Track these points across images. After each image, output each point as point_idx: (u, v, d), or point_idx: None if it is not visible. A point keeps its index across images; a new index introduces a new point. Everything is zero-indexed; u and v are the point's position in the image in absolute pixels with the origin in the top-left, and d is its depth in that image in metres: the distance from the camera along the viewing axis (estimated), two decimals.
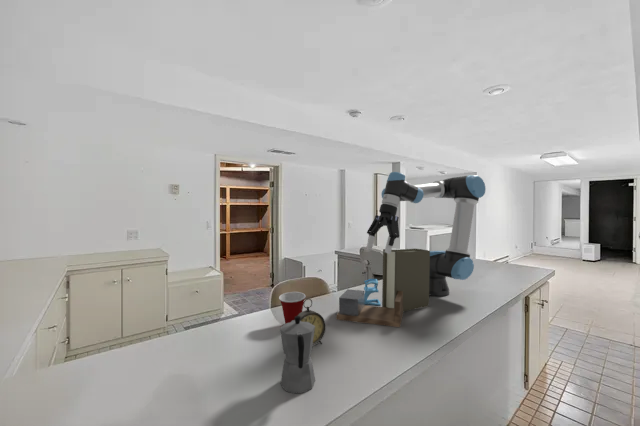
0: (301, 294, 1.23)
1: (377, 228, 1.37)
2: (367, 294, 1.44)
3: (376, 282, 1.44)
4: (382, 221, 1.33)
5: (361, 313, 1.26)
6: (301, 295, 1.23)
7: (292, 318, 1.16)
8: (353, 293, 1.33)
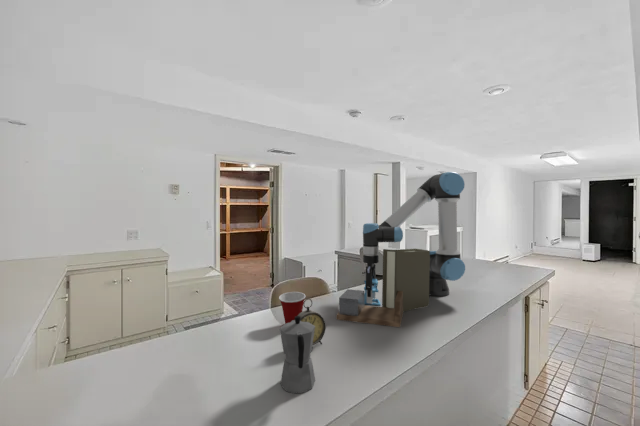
0: (301, 294, 1.23)
1: None
2: None
3: (376, 282, 1.44)
4: None
5: (361, 313, 1.26)
6: (301, 295, 1.22)
7: (292, 318, 1.16)
8: (353, 293, 1.33)
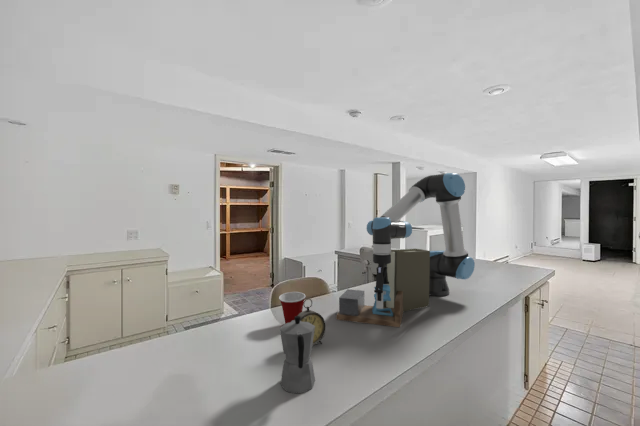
0: (301, 294, 1.23)
1: (383, 277, 1.31)
2: None
3: (388, 289, 1.24)
4: None
5: (361, 313, 1.26)
6: (301, 295, 1.23)
7: (292, 318, 1.16)
8: (353, 293, 1.33)
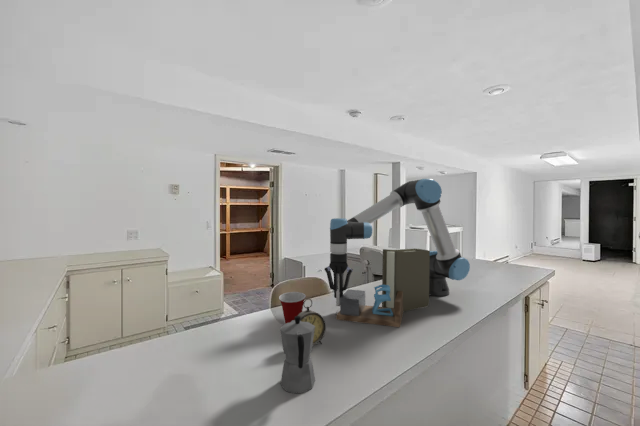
0: (301, 294, 1.23)
1: None
2: (378, 303, 1.24)
3: (388, 289, 1.24)
4: None
5: (361, 313, 1.26)
6: (301, 295, 1.23)
7: (292, 318, 1.16)
8: (354, 293, 1.32)
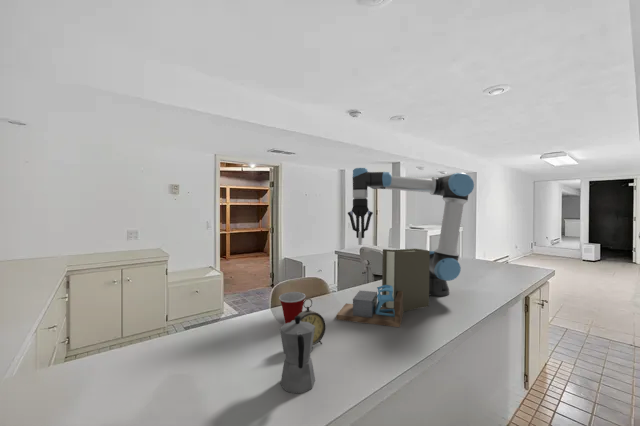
0: (301, 294, 1.23)
1: None
2: (380, 303, 1.23)
3: (391, 289, 1.23)
4: None
5: None
6: (301, 295, 1.23)
7: (292, 318, 1.16)
8: (366, 294, 1.31)
